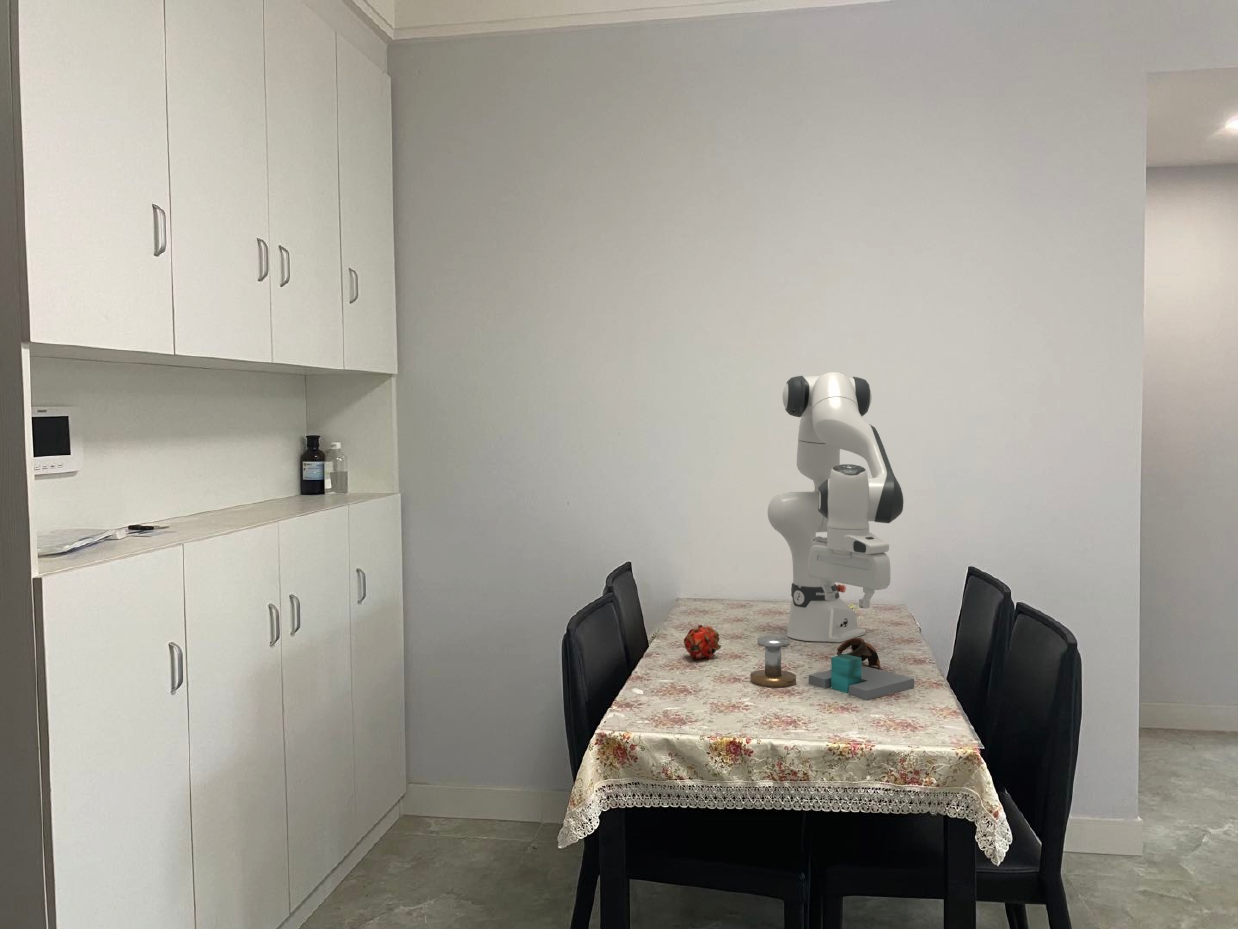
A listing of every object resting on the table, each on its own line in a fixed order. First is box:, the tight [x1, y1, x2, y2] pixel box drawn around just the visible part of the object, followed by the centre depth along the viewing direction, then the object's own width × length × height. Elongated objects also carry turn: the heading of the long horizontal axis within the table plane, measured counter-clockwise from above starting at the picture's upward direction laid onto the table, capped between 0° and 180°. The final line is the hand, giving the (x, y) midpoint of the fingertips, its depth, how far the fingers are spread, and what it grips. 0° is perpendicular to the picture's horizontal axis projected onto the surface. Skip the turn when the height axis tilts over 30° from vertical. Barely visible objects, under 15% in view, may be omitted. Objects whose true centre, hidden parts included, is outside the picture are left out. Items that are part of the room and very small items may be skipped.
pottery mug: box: [835, 637, 882, 670], centre depth 235 cm, size 12×10×8 cm
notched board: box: [808, 664, 915, 701], centre depth 219 cm, size 16×16×2 cm
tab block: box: [830, 653, 862, 695], centre depth 216 cm, size 4×4×7 cm
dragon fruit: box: [683, 624, 722, 661], centre depth 245 cm, size 8×8×12 cm
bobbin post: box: [749, 635, 797, 689], centre depth 222 cm, size 10×10×10 cm
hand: (846, 604), depth 216 cm, fingers open, 8 cm apart
